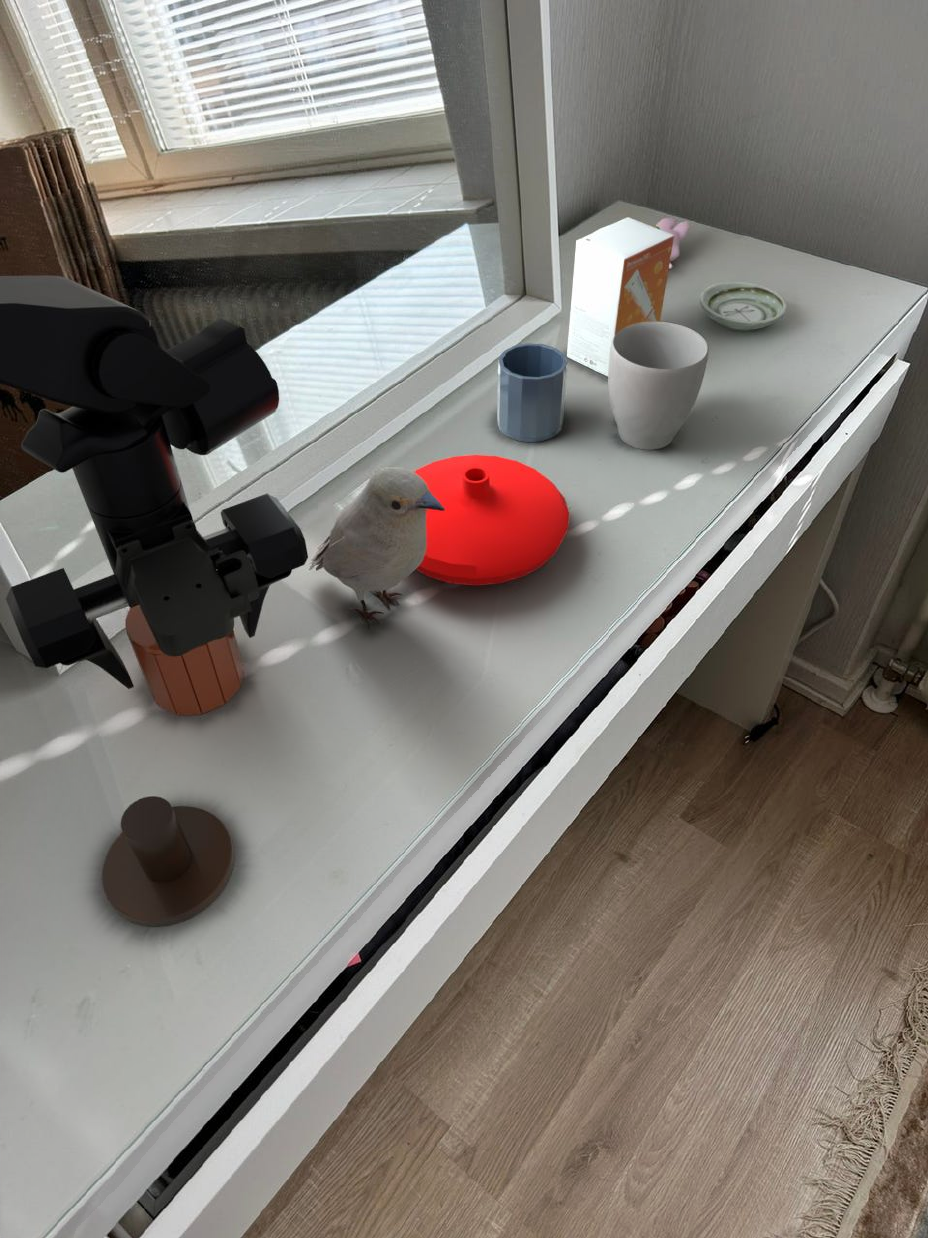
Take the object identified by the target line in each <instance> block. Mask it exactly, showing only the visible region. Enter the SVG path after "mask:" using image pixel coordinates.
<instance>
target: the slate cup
mask: <svg viewBox="0 0 928 1238" xmlns="http://www.w3.org/2000/svg"><path fill="white" fill-rule="evenodd" d="M568 363H569V362H568V359H567V355H566V354H565V353H564V352H562V351H560V350H559V349H558V348H556V347H553V346H551V345H548V344H544V343H532V342H528V343H527V342H526V343H522V344H517V345H513V346H511V347H509V348H507V349H505V350H503V351H502V353H501V354H500V356H499V357H498V359H497V408H496V409H497V410H496V412H497V415H496V416H497V417H496V418H497V426H498V429H499V430H500V432H501V433H502V434H503V435H504V436H506V437H508V438H510V439H512V440H515V441H518V442H524V443H537V442H539V443H540V442H544V441H547V440H550V439H552V438H553V437H556V436H557V435H558V434H559V433H560V431H561V430H562V427H563V422H564V416H565V415H564V414H565V403H566V402H565V401H566V391H567V390H566V389H567V378H568V377H567V376H568Z"/></svg>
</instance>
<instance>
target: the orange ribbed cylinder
mask: <svg viewBox="0 0 928 1238" xmlns="http://www.w3.org/2000/svg"><path fill="white" fill-rule="evenodd" d="M124 622H125V623H124V627H125V633H126V636H127V639H128V640H129V643H130V645H131V648H132V650H133V653H134V655H135V658H136V660H137V662H138V666H139V667H140V668H139V669H140V671H141V672H142V675H143V677H144V680H145V682H146V685H147V688H148V690H149V692H150V694H151V695H152V698H153V700H154V702H155V704H156V706H158V708H161V709H163V710H164V711H166V712H169V713H171V714H174V715H177V716H194V715H195V716H197V715H198V716H199V715H202V714H206V713H208V712H211V711H213V710H215V709H217V708H220V707H222V706H224V705H225V704H227V703H228V702H229V701H230V700H231V699H232V697H234V695H236V693H237V692H238V691H239V690H240V689H241V687H242V684H243V679H244V672H245V666H244V663H243V659H242V656H241V652H240V649H239V645H238V641H237V638H236V635H235V631H234V629H233V630H232V632H231V633H230V634H229V635H228V636H226V637H224V638H221V639H216V640H213V641H211V642H208V643H206V644H203V645H201V646H199V647H196V648H194V649H192V650H190V651H189V652H188V653H185V654H183V655H180V656H176V657H172V656H168V655H166V654H164V653H163V652H162V651H161V650H160V648H159V646H158V644H157V642H156V640H155V638H154V636H153V633H152V631H151V629H150V627H149V625H148V623H147V621H146V619H145V617H144V615H143V613H142V611H141V608H140V605H137V606H135V607H132V608H130V607H129V609H128V610H127V614H126V617H125V621H124Z"/></svg>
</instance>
